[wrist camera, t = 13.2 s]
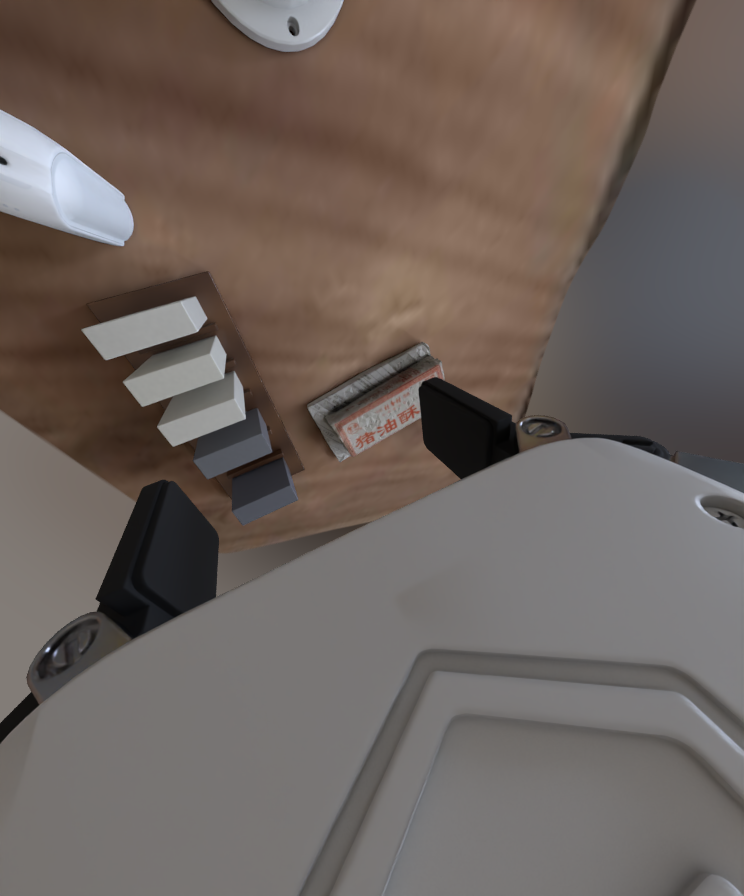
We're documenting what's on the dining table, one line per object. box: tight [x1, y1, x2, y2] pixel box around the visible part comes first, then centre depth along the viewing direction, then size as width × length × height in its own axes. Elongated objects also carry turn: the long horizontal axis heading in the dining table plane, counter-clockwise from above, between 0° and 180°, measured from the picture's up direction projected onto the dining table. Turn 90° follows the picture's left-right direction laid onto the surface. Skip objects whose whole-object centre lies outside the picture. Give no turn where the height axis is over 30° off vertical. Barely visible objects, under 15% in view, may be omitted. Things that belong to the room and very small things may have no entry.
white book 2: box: [123, 335, 226, 407], centre depth 24 cm, size 2×6×9 cm, turn 104°
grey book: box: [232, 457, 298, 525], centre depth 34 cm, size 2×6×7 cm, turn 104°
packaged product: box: [307, 342, 445, 462], centre depth 38 cm, size 18×5×10 cm
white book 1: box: [81, 296, 207, 360], centre depth 22 cm, size 2×6×9 cm, turn 104°
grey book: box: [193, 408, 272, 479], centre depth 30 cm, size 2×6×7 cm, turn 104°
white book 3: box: [157, 371, 246, 447], centre depth 26 cm, size 2×6×9 cm, turn 104°
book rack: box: [87, 271, 304, 499], centre depth 31 cm, size 24×10×2 cm, turn 14°
